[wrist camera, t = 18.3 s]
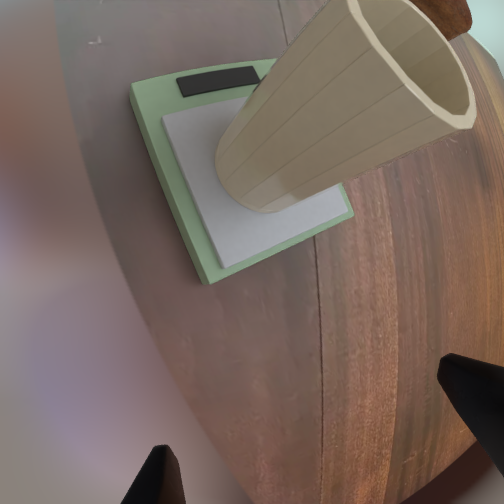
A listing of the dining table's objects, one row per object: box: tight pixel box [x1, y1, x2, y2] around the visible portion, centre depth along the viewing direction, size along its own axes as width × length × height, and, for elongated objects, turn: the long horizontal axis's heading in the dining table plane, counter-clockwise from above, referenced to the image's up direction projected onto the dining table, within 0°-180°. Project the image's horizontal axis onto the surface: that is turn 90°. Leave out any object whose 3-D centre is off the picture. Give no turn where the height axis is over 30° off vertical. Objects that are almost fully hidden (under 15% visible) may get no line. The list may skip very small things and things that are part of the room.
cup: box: [215, 0, 477, 213], centre depth 13 cm, size 6×6×13 cm
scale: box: [129, 59, 355, 284], centre depth 21 cm, size 14×12×3 cm
